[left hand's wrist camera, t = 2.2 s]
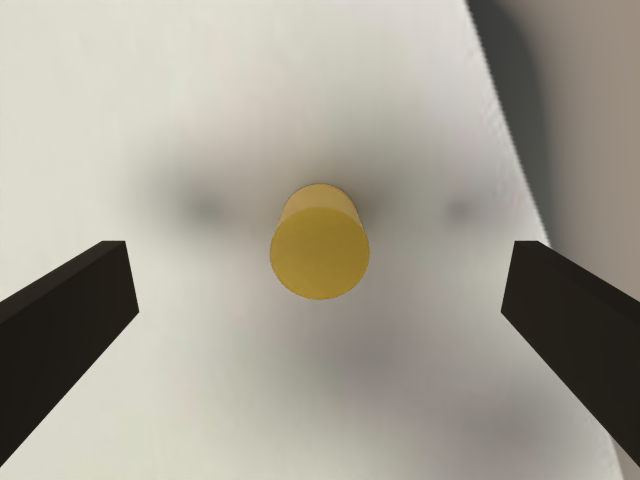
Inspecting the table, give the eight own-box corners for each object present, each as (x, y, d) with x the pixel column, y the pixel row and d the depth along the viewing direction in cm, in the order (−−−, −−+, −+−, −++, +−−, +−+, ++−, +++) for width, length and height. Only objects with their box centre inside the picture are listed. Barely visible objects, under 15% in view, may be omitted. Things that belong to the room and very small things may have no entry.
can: (352, 178, 19) (363, 199, 14) (361, 250, 20) (374, 292, 15) (274, 190, 19) (260, 215, 14) (289, 261, 20) (280, 306, 16)
